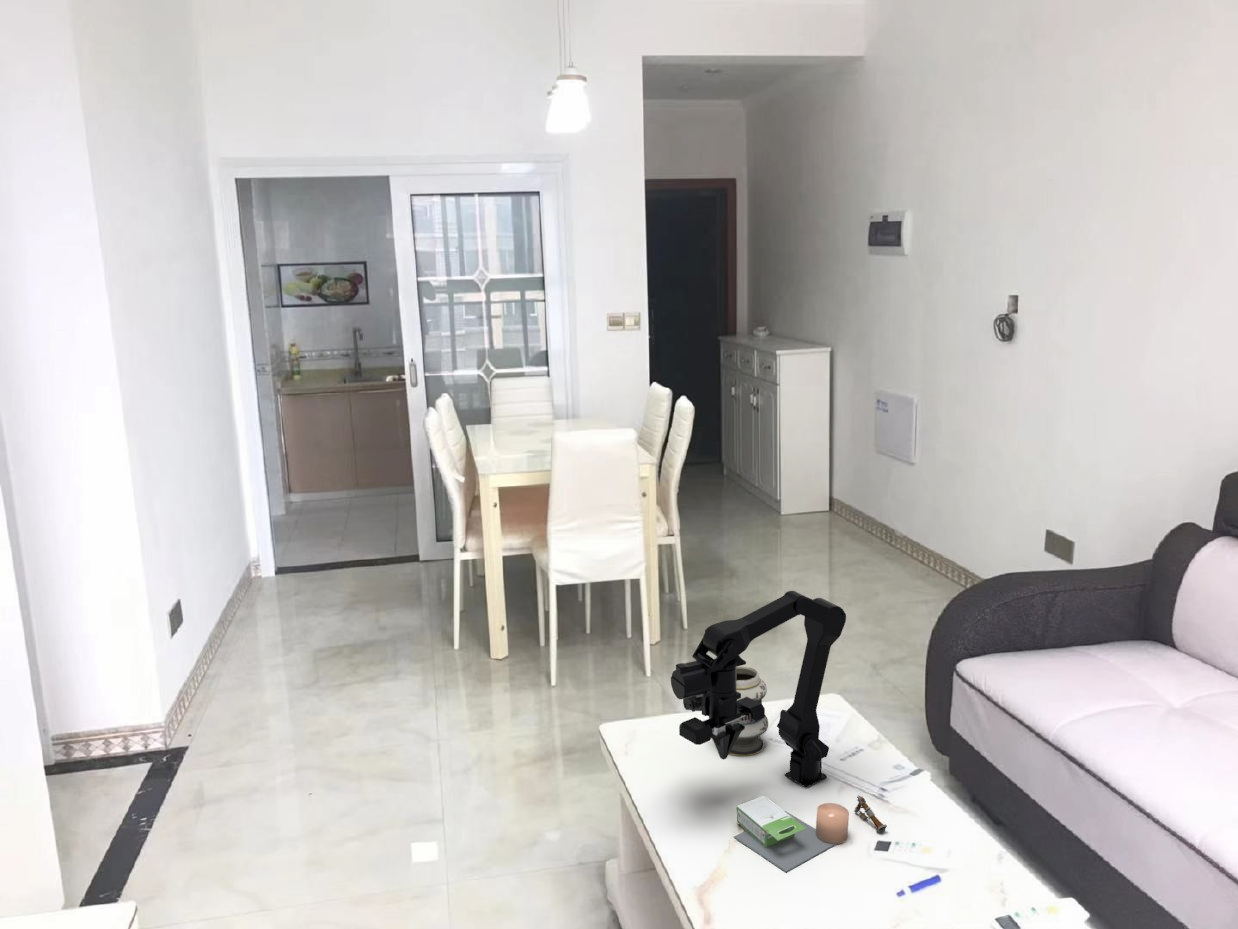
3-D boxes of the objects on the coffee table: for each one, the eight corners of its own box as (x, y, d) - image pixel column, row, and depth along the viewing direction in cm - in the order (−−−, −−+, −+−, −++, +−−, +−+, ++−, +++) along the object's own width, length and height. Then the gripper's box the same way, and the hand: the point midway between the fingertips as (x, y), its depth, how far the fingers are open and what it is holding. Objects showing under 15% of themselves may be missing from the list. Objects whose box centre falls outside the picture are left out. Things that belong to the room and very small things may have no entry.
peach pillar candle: (830, 823, 192) (831, 800, 191) (853, 837, 188) (855, 813, 187) (809, 832, 189) (810, 809, 188) (832, 847, 184) (834, 822, 183)
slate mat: (785, 812, 197) (785, 810, 197) (838, 844, 186) (838, 842, 186) (733, 838, 189) (733, 836, 189) (786, 872, 178) (786, 871, 178)
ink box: (735, 823, 193) (777, 858, 182) (735, 805, 192) (777, 839, 181) (764, 812, 196) (807, 846, 185) (764, 794, 196) (807, 827, 184)
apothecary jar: (710, 735, 229) (709, 664, 225) (760, 730, 230) (760, 659, 227) (721, 761, 217) (720, 686, 214) (774, 756, 219) (774, 681, 215)
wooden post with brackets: (856, 806, 197) (862, 792, 194) (880, 839, 191) (887, 825, 188) (849, 808, 196) (855, 794, 193) (873, 841, 190) (880, 827, 188)
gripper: (729, 662, 207) (730, 729, 211) (660, 687, 197) (663, 758, 200) (766, 679, 199) (766, 749, 202) (697, 706, 188) (698, 780, 191)
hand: (723, 758), depth 199 cm, fingers closed
